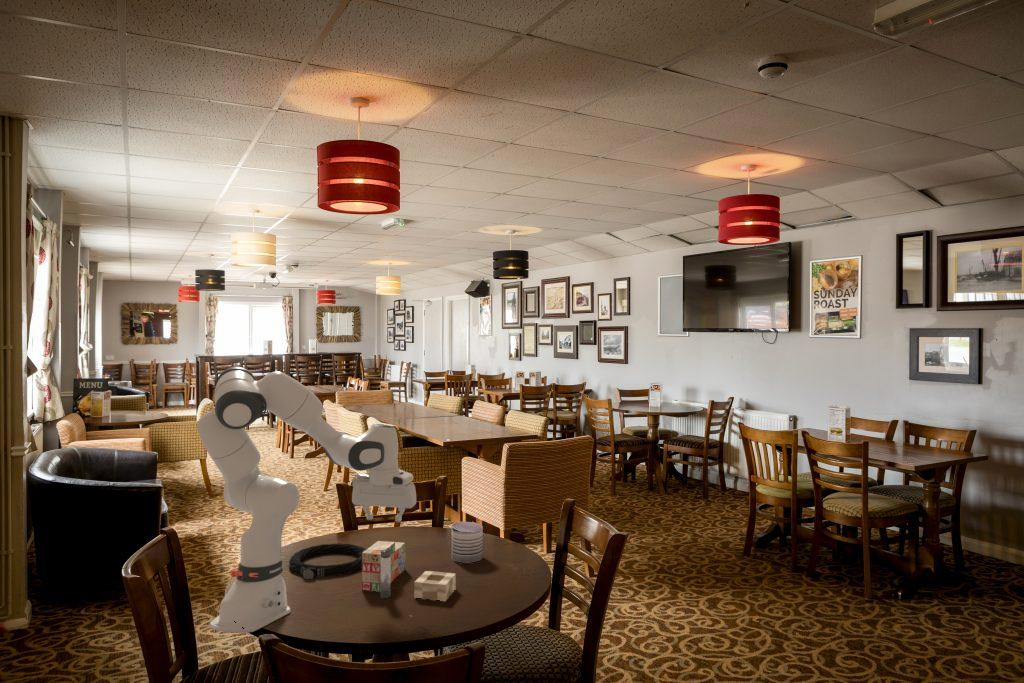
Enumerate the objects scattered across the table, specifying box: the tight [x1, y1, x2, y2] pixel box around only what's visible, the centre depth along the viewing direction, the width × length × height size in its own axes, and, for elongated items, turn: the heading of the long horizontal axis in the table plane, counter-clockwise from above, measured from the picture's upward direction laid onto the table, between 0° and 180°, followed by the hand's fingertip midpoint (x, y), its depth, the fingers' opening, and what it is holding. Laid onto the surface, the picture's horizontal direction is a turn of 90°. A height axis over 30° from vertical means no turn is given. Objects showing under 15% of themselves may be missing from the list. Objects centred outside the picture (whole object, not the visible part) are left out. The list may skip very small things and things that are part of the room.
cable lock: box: [288, 542, 367, 580], centre depth 232 cm, size 28×4×30 cm
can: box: [451, 521, 484, 563], centre depth 239 cm, size 11×11×12 cm
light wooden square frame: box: [413, 570, 457, 602], centre depth 206 cm, size 10×10×5 cm
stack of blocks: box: [361, 540, 406, 593], centre depth 218 cm, size 21×6×12 cm, turn 168°
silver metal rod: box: [379, 550, 392, 599], centre depth 203 cm, size 3×3×14 cm
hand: (384, 520), depth 205 cm, fingers open, 8 cm apart
